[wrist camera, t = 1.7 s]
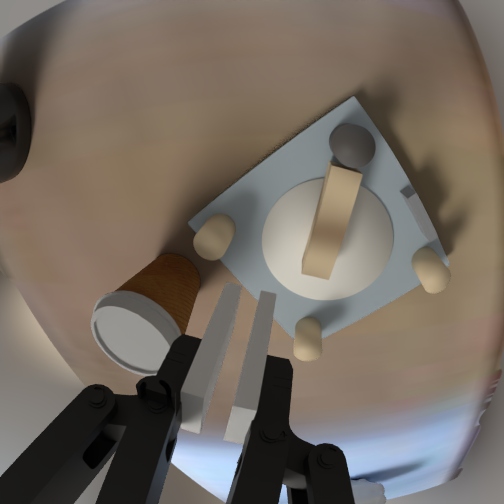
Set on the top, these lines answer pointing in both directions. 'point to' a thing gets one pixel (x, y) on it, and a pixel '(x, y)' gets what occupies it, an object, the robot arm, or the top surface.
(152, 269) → the disposable coffee cup
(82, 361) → the top surface
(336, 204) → the stool leg
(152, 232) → the top surface
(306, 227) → the board
